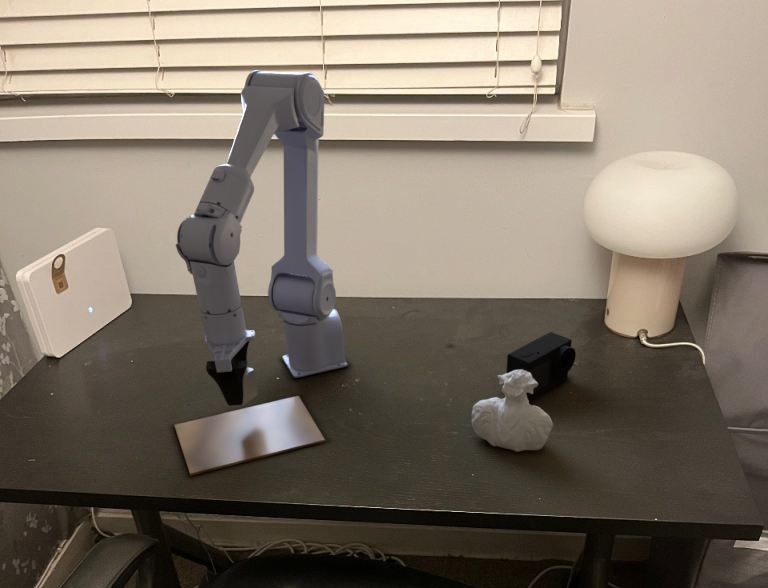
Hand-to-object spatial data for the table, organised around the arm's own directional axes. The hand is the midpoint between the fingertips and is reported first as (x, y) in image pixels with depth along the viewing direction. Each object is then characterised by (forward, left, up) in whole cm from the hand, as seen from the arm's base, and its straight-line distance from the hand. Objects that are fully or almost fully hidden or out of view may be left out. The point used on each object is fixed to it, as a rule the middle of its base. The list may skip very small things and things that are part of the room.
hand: (237, 392), depth 114 cm
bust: (-35, +21, -6) cm, 41 cm away
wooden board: (0, +3, -6) cm, 6 cm away
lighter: (0, 0, -2) cm, 2 cm away
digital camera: (-46, +10, -6) cm, 47 cm away
